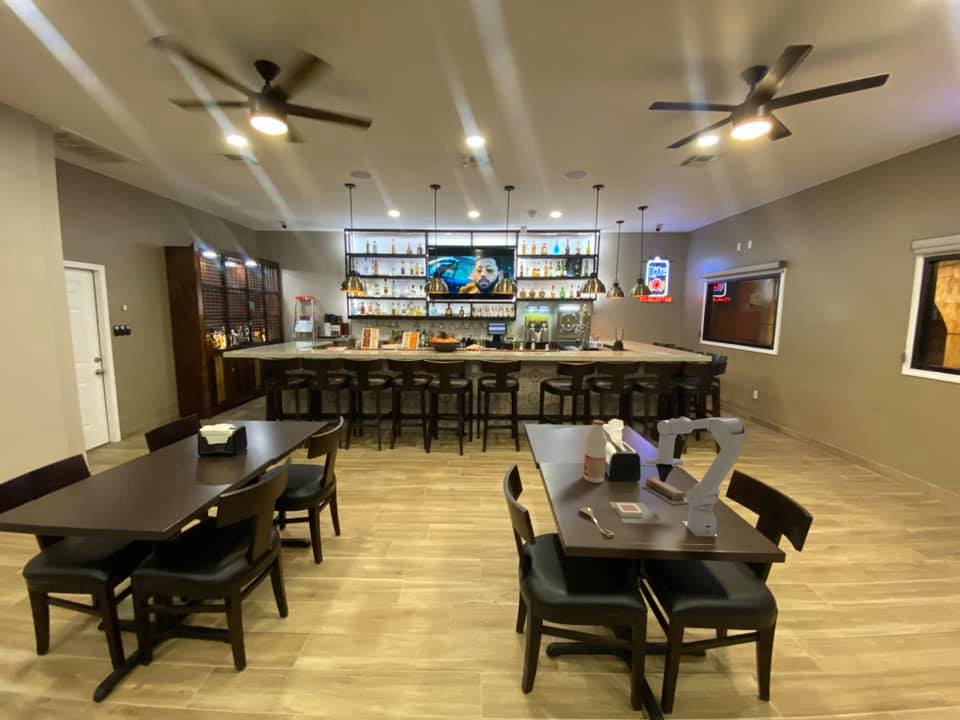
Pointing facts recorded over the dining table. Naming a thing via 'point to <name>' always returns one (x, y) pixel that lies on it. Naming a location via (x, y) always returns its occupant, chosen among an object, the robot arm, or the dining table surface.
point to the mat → (647, 517)
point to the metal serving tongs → (590, 512)
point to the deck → (628, 510)
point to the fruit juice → (595, 453)
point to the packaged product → (665, 491)
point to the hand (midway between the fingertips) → (662, 481)
